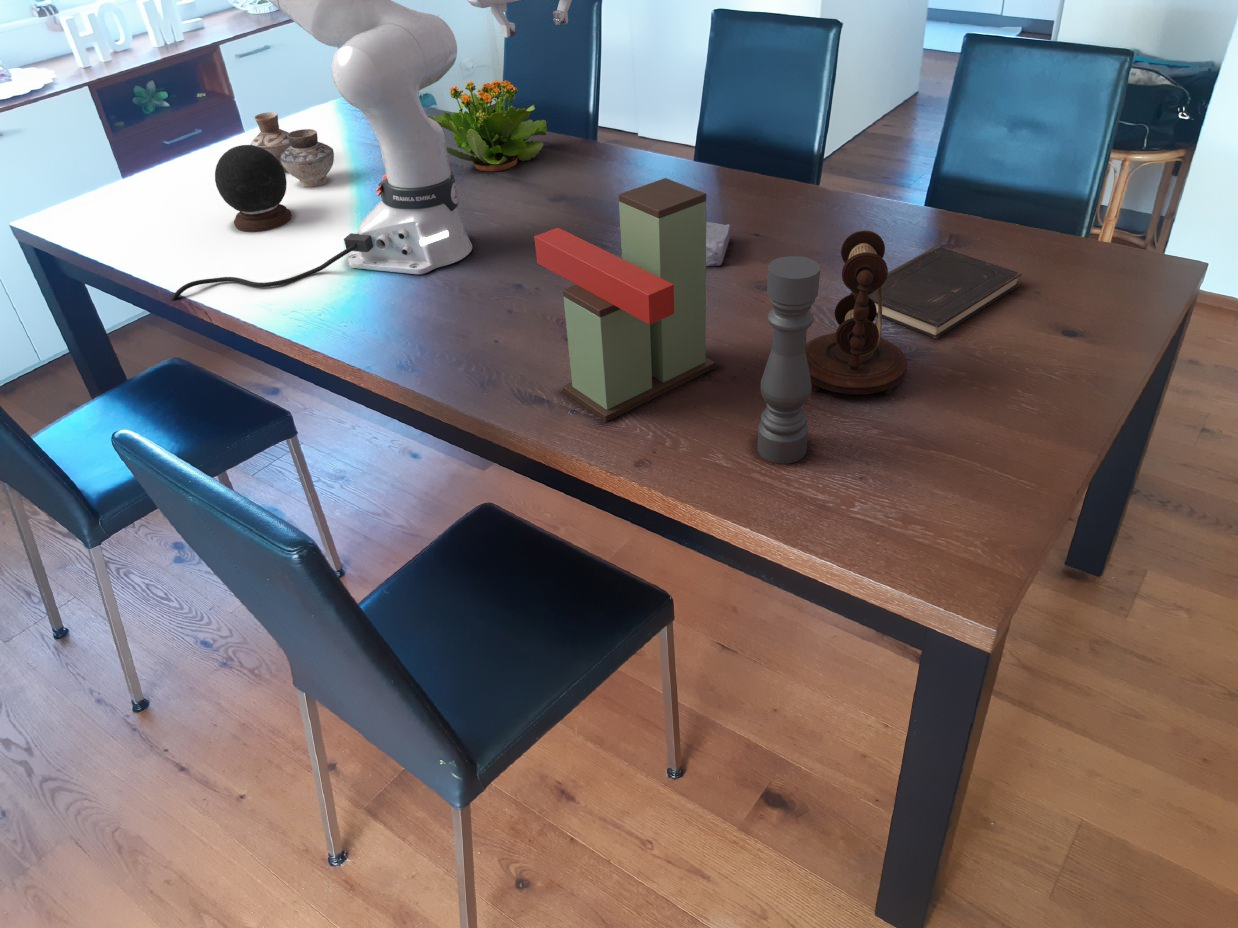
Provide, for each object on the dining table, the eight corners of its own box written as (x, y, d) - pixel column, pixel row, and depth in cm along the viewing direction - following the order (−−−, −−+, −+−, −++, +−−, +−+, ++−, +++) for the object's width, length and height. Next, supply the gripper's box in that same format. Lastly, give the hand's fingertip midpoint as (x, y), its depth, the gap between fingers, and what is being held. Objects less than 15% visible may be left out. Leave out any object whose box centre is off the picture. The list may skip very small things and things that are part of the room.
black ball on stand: (215, 230, 183) (190, 155, 173) (258, 205, 192) (236, 133, 183) (268, 237, 178) (245, 161, 169) (310, 211, 188) (290, 138, 179)
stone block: (670, 275, 160) (726, 266, 157) (664, 249, 157) (721, 240, 154) (681, 248, 169) (734, 240, 166) (675, 224, 167) (729, 215, 164)
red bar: (537, 263, 125) (534, 236, 123) (560, 254, 127) (558, 227, 125) (649, 325, 110) (648, 295, 108) (674, 314, 112) (674, 284, 110)
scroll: (908, 406, 121) (931, 268, 109) (795, 400, 124) (806, 265, 112) (901, 349, 133) (921, 219, 121) (798, 345, 135) (807, 217, 123)
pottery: (290, 158, 215) (276, 105, 208) (350, 180, 201) (337, 125, 194) (247, 172, 209) (230, 118, 202) (305, 196, 195) (290, 139, 188)
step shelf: (562, 392, 129) (543, 216, 113) (669, 342, 138) (666, 173, 122) (606, 422, 122) (592, 240, 106) (715, 368, 132) (717, 193, 116)
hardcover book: (1018, 286, 146) (1021, 273, 145) (936, 339, 135) (938, 325, 133) (931, 257, 156) (934, 244, 155) (847, 304, 145) (849, 291, 143)
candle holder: (752, 437, 118) (760, 257, 103) (799, 432, 118) (814, 253, 103) (762, 466, 113) (772, 282, 98) (812, 461, 113) (829, 277, 98)
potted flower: (541, 183, 193) (532, 98, 183) (430, 189, 194) (415, 104, 184) (549, 144, 213) (541, 65, 202) (449, 149, 214) (436, 71, 203)
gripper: (571, -88, 134) (578, 14, 142) (450, -69, 124) (466, 40, 133) (597, -86, 130) (603, 20, 138) (474, -65, 120) (489, 47, 129)
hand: (535, 30), depth 135 cm, fingers open, 8 cm apart
